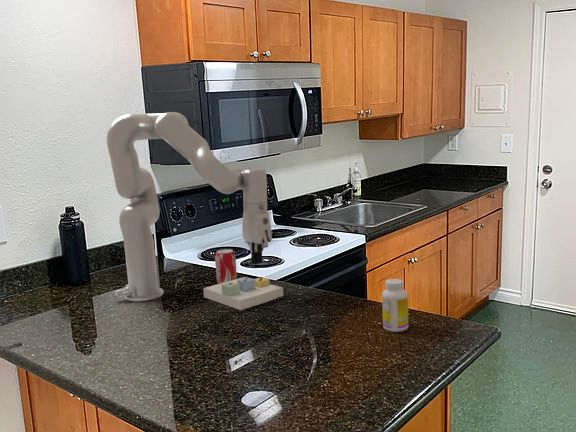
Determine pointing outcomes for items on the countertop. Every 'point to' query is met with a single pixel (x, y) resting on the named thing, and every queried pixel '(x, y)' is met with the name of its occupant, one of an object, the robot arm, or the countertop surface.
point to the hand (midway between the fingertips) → (256, 263)
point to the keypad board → (243, 295)
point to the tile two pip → (246, 284)
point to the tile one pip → (230, 289)
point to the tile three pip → (261, 282)
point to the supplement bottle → (395, 306)
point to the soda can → (225, 266)
